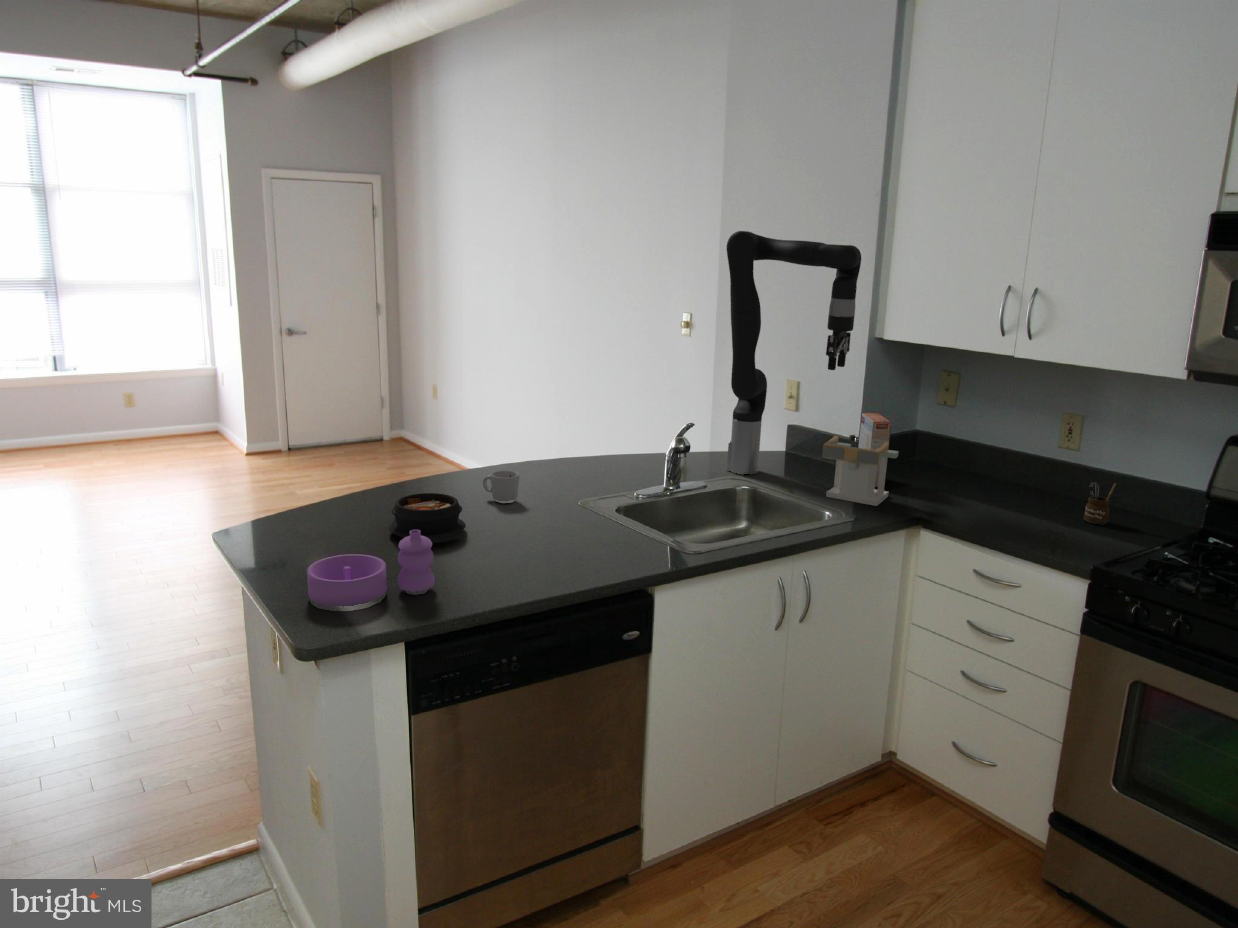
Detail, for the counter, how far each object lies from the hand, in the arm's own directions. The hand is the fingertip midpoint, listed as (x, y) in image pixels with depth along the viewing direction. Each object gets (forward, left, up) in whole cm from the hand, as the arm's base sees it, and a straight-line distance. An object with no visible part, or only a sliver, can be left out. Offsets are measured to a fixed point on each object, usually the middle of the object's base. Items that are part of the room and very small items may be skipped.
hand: (836, 368), depth 269 cm
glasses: (+11, -10, -24) cm, 28 cm away
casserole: (-64, -109, -36) cm, 131 cm away
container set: (-47, -143, -36) cm, 155 cm away
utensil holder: (+75, +8, -36) cm, 84 cm away
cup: (-67, -77, -36) cm, 108 cm away
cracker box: (+11, +10, -36) cm, 39 cm away
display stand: (+13, -10, -36) cm, 40 cm away
